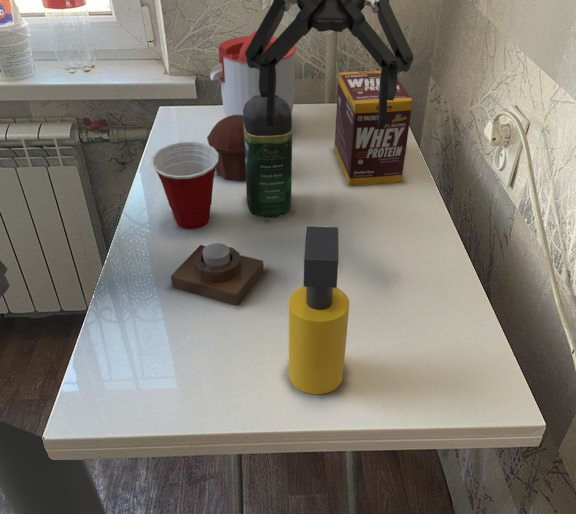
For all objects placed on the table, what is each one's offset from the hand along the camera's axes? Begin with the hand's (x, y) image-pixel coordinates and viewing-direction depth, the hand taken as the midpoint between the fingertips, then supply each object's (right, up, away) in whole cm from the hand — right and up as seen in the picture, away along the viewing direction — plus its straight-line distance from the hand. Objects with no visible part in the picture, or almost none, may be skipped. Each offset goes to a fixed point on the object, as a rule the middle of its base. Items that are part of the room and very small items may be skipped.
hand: (325, 124), depth 75 cm
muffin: (-14, +7, +45) cm, 48 cm away
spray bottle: (-1, -31, +4) cm, 31 cm away
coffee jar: (-8, -2, +35) cm, 36 cm away
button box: (-15, -17, +19) cm, 30 cm away
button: (-15, -14, +17) cm, 27 cm away
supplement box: (+11, +9, +46) cm, 48 cm away
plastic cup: (-21, -6, +31) cm, 38 cm away
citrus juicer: (-12, +19, +58) cm, 62 cm away
